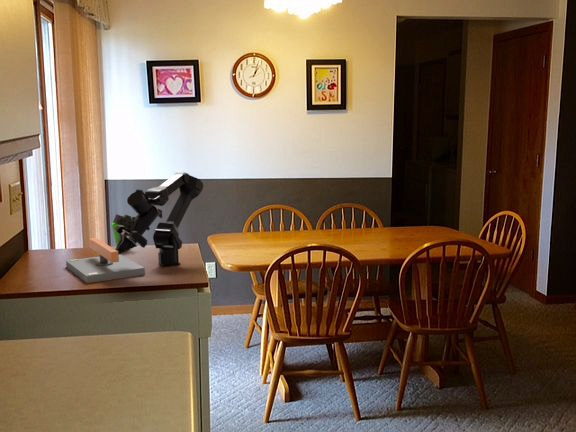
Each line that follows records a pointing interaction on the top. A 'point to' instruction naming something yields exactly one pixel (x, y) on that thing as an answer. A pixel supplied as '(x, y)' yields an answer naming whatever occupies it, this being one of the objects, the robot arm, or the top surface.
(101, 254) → the handle
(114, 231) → the cup
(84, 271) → the panel
